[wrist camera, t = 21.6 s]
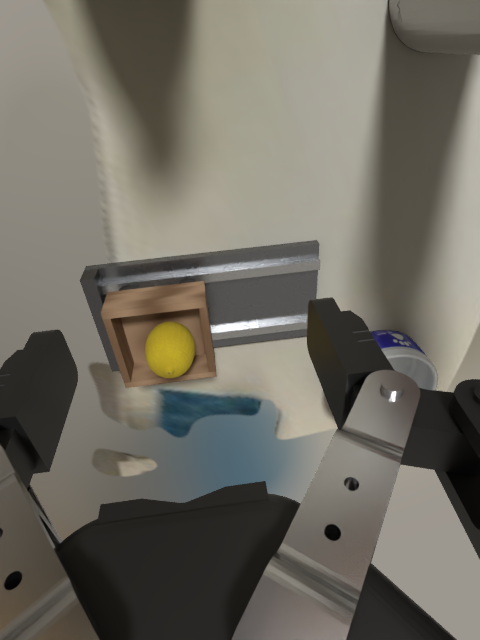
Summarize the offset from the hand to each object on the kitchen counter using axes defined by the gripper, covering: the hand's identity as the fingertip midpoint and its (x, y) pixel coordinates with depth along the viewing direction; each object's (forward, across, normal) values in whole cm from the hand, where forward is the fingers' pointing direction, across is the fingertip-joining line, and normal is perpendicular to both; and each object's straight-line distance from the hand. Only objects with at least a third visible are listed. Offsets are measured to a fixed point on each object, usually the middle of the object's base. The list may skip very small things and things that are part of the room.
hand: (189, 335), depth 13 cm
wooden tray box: (+31, +6, +20) cm, 37 cm away
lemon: (+28, +5, +20) cm, 35 cm away
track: (+33, 0, +20) cm, 39 cm away
